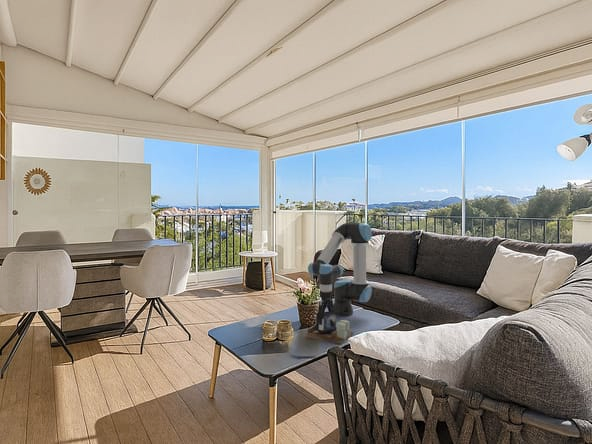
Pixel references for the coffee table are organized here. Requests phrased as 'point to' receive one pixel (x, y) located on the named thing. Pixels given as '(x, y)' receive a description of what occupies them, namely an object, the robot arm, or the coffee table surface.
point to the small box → (327, 322)
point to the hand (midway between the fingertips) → (325, 326)
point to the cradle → (332, 333)
